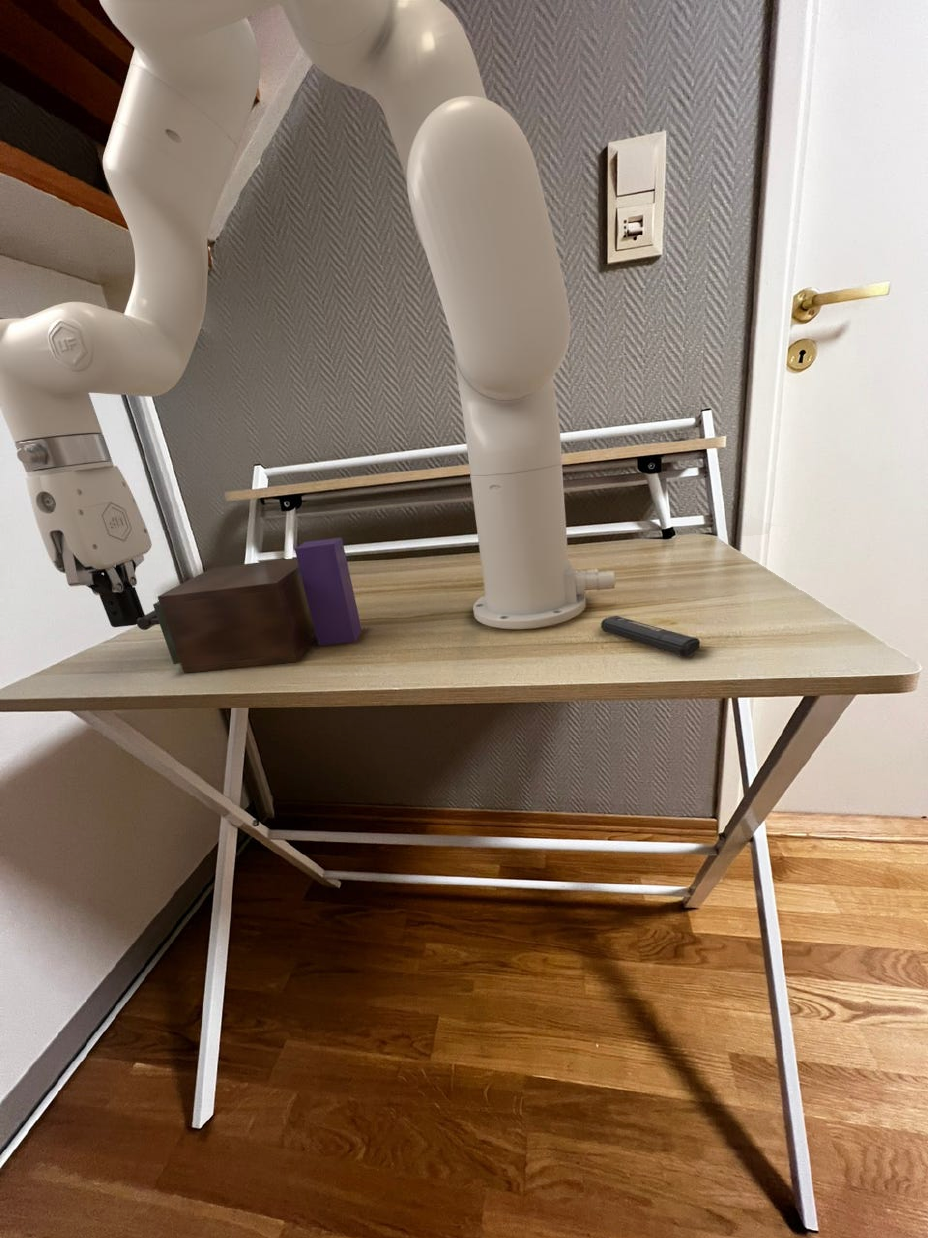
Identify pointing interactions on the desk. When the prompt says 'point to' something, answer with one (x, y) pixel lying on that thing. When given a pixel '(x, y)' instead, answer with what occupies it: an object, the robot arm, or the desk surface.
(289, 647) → the cabinet
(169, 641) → the drawer
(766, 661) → the desk surface
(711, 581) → the desk surface
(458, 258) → the robot arm
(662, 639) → the usb stick
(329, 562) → the purple rectangular block
